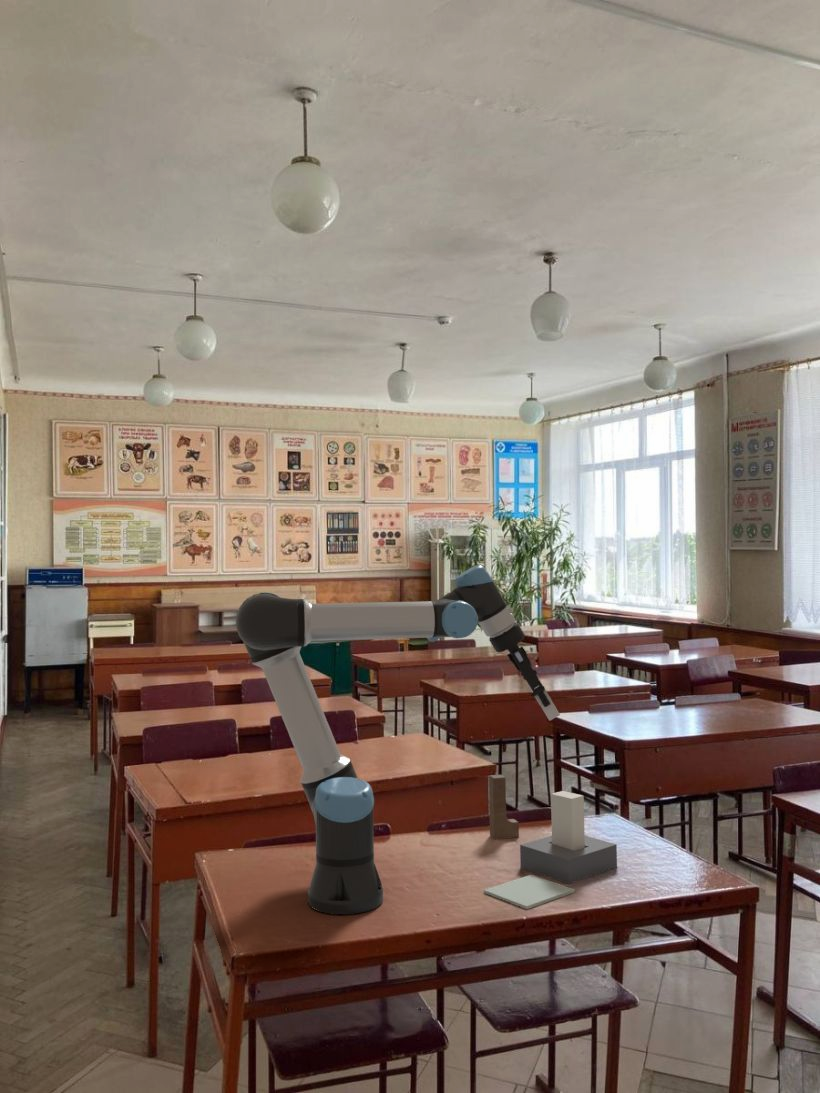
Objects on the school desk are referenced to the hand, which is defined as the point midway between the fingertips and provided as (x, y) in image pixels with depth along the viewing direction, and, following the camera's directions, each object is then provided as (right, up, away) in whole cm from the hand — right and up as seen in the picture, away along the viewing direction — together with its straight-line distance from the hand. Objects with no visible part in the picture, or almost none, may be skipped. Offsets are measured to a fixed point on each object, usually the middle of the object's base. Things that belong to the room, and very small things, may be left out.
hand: (549, 709), depth 203 cm
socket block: (+4, -34, -4) cm, 35 cm away
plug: (+4, -34, -4) cm, 35 cm away
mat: (-7, -34, -19) cm, 40 cm away
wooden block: (-8, -35, +20) cm, 41 cm away
